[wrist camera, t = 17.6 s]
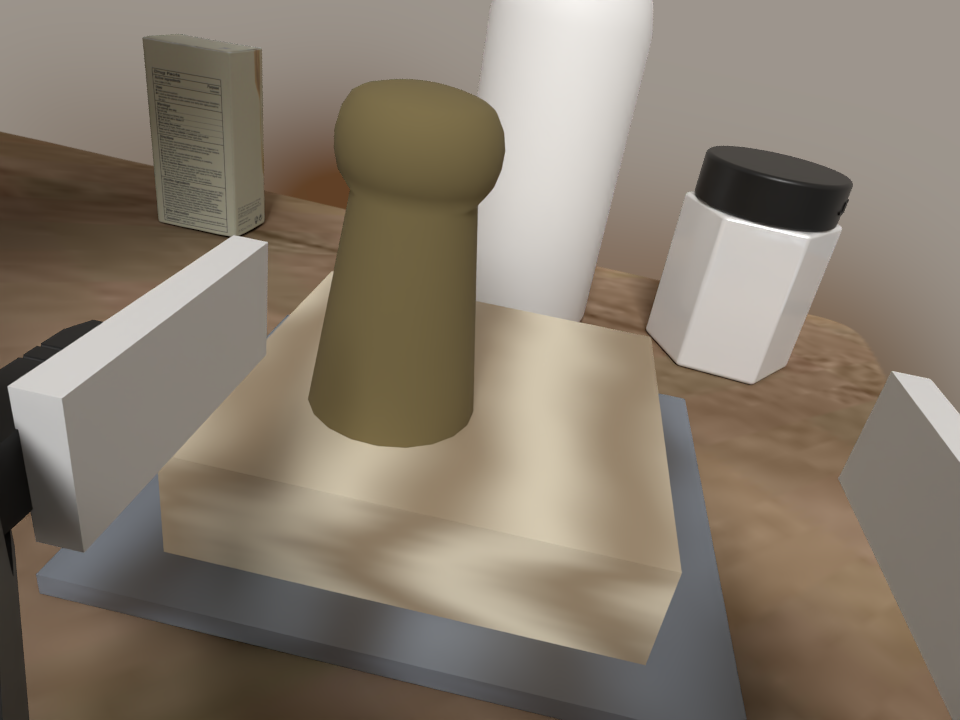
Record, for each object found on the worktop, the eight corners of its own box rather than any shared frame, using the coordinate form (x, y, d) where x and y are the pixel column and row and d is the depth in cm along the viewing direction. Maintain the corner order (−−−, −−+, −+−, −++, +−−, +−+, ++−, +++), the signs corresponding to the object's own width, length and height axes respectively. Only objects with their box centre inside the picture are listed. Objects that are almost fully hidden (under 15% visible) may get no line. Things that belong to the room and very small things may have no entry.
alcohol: (489, 351, 41) (616, -343, 27) (424, 288, 48) (499, -301, 34) (608, 336, 46) (771, -270, 32) (533, 279, 52) (641, -245, 38)
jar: (809, 386, 44) (893, 194, 38) (692, 386, 42) (762, 180, 36) (732, 320, 51) (792, 151, 46) (629, 316, 49) (679, 137, 43)
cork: (313, 450, 23) (330, 93, 18) (303, 356, 28) (315, 56, 23) (491, 445, 25) (556, 118, 20) (453, 358, 30) (496, 79, 25)
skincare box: (266, 224, 54) (268, 48, 48) (236, 241, 50) (234, 52, 44) (187, 205, 55) (180, 30, 49) (152, 221, 51) (140, 33, 45)
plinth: (39, 592, 23) (16, 471, 20) (287, 327, 40) (289, 246, 38) (742, 763, 21) (802, 653, 19) (680, 411, 39) (707, 332, 36)
